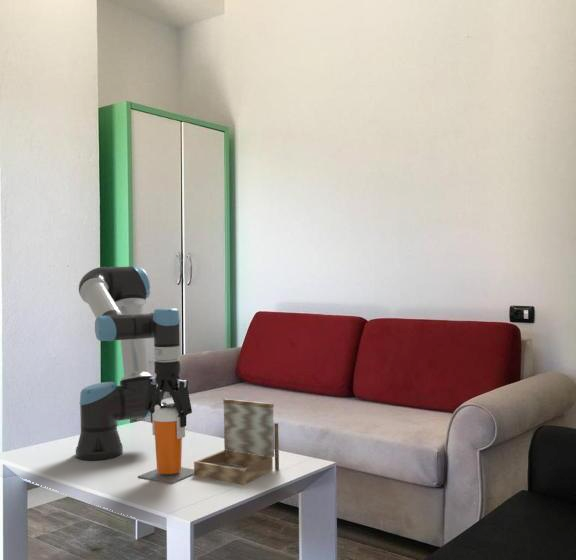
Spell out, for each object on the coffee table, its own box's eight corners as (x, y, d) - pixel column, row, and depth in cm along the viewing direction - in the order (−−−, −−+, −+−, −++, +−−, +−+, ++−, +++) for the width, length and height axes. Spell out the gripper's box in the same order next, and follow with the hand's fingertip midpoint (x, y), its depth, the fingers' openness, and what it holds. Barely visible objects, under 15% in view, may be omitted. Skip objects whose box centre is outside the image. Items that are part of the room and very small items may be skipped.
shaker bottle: (177, 476, 193) (176, 407, 192) (149, 474, 194) (147, 406, 194) (188, 467, 201) (187, 401, 201) (160, 465, 203) (159, 400, 203)
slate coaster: (137, 477, 196) (137, 476, 196) (167, 466, 207) (167, 464, 207) (171, 484, 189) (171, 482, 189) (200, 471, 200) (200, 470, 200)
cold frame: (194, 475, 197) (193, 407, 197) (228, 460, 211) (227, 398, 211) (247, 485, 187) (246, 414, 187) (279, 469, 201) (278, 403, 201)
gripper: (131, 359, 200) (133, 434, 200) (187, 364, 189) (188, 443, 189) (149, 356, 206) (150, 429, 207) (203, 360, 195) (205, 437, 195)
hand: (168, 435), depth 198 cm, fingers closed on shaker bottle, 9 cm apart
